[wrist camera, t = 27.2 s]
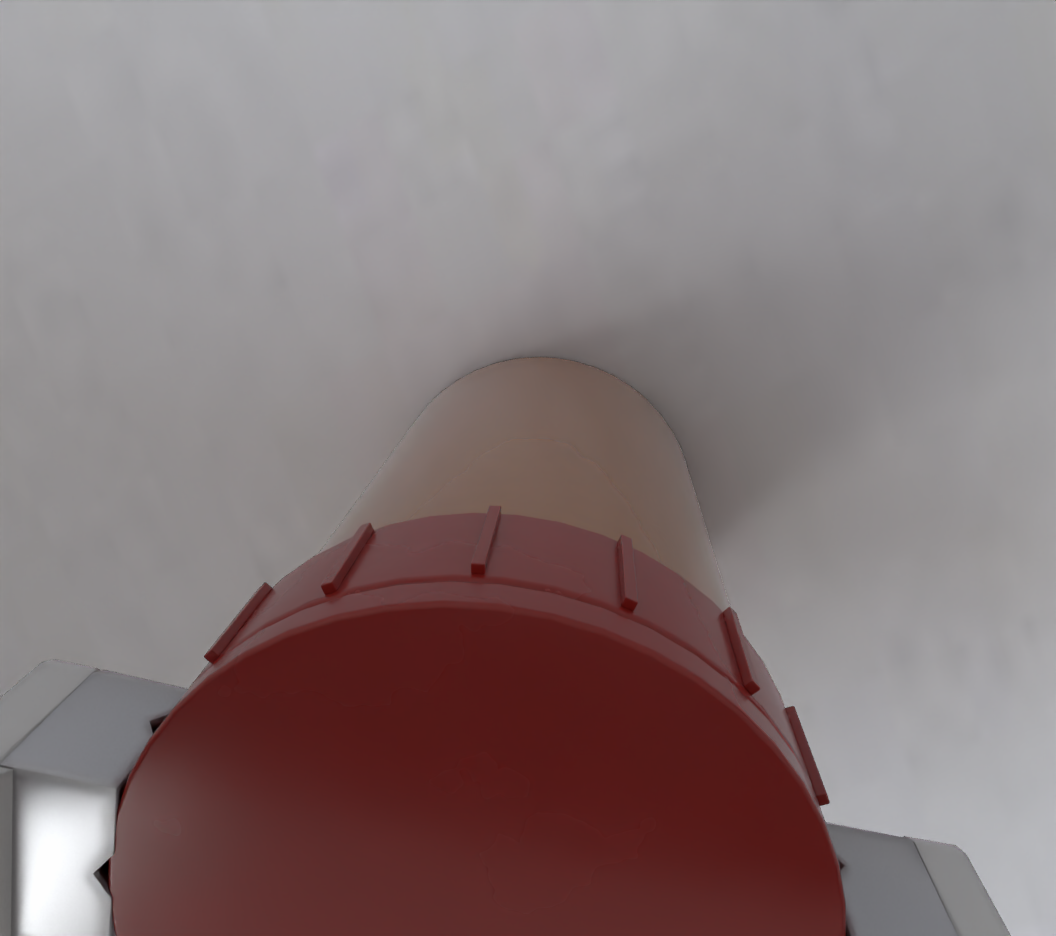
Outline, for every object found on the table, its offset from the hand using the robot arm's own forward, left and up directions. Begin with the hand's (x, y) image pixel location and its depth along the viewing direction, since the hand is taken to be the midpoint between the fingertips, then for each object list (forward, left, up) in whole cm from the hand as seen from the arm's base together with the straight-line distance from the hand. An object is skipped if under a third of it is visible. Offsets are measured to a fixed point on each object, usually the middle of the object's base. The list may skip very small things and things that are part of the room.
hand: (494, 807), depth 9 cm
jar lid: (0, 0, +1) cm, 1 cm away
